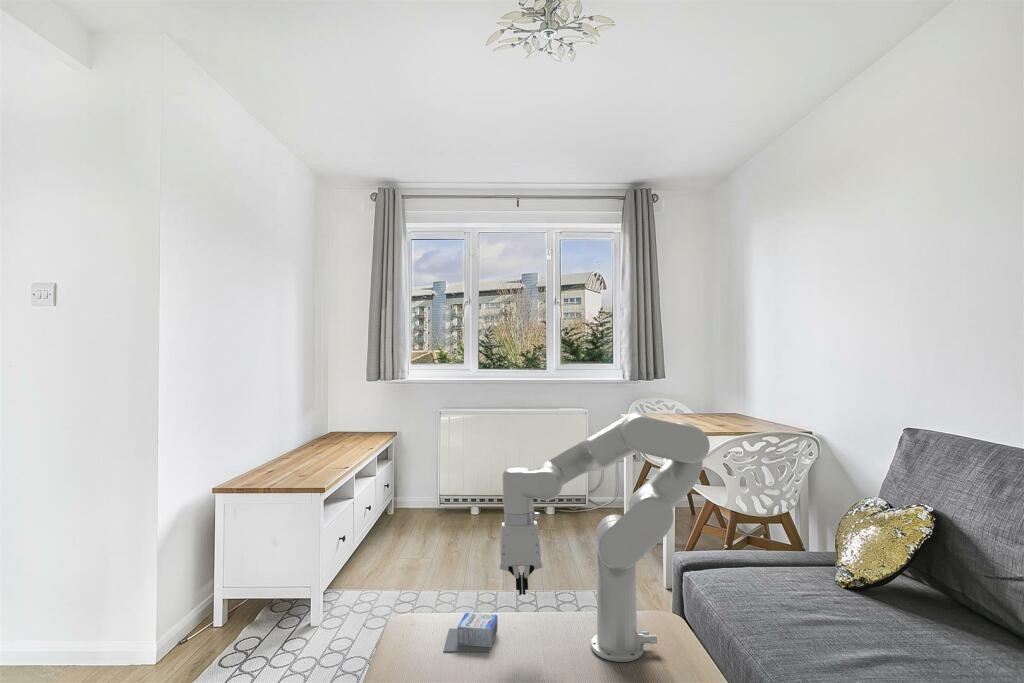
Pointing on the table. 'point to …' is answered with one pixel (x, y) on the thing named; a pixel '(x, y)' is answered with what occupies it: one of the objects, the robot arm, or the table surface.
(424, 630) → the table surface
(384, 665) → the table surface
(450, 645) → the mat
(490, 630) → the medicine box
